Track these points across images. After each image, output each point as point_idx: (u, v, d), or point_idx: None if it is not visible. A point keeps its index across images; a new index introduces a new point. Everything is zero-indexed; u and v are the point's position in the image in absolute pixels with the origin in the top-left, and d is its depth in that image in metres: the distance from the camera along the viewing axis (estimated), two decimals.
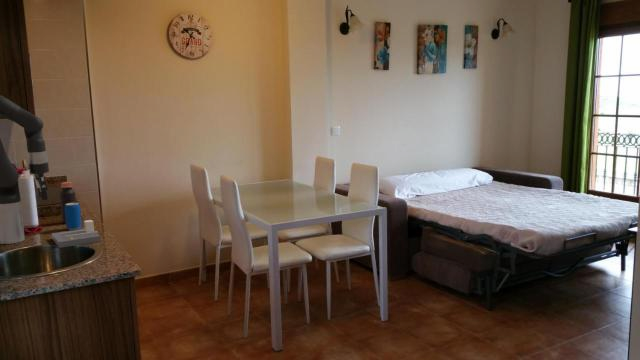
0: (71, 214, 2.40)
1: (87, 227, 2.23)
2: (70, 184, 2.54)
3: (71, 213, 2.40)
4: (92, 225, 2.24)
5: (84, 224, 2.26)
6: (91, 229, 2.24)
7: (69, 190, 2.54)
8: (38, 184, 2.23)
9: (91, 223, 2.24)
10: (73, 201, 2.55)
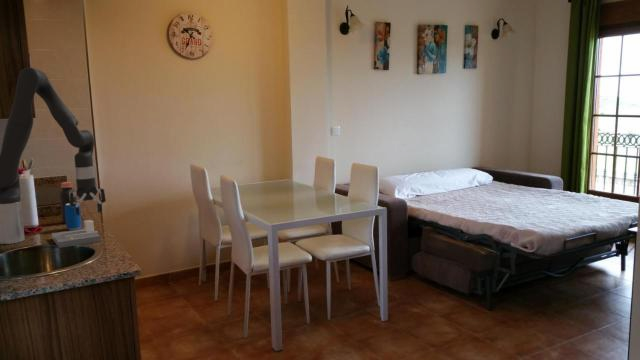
0: (71, 214, 2.40)
1: (87, 227, 2.23)
2: (70, 184, 2.54)
3: (71, 213, 2.40)
4: (92, 225, 2.24)
5: (84, 224, 2.26)
6: (91, 229, 2.24)
7: (69, 190, 2.54)
8: None
9: (91, 223, 2.24)
10: None
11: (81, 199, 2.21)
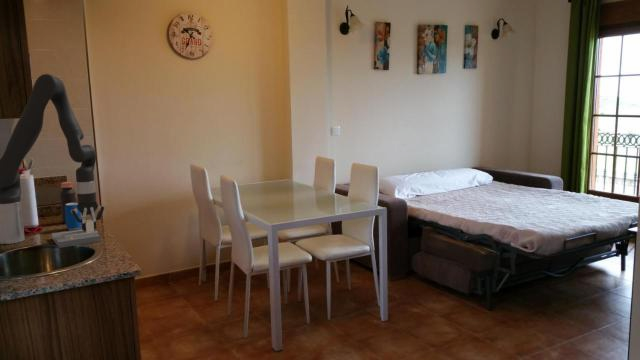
0: (71, 214, 2.40)
1: (87, 227, 2.23)
2: (70, 184, 2.54)
3: (71, 213, 2.40)
4: (92, 225, 2.24)
5: None
6: (91, 229, 2.24)
7: (69, 190, 2.54)
8: (94, 214, 2.25)
9: (91, 223, 2.24)
10: (73, 201, 2.55)
11: (84, 214, 2.22)
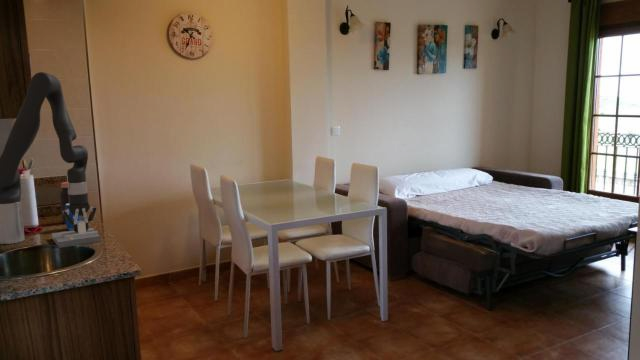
0: (71, 214, 2.40)
1: (79, 228, 2.21)
2: None
3: (71, 213, 2.40)
4: (84, 226, 2.23)
5: None
6: (83, 230, 2.23)
7: None
8: (86, 215, 2.23)
9: (83, 224, 2.22)
10: None
11: (76, 215, 2.20)
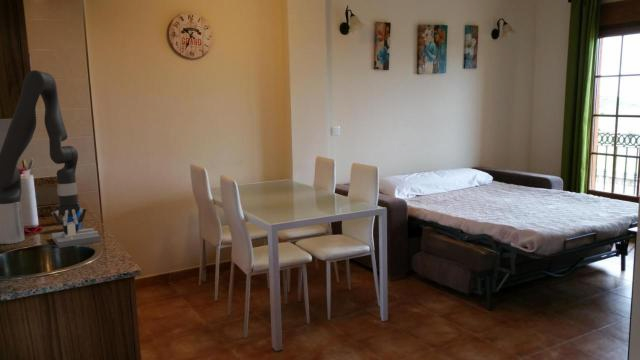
0: None
1: (68, 230, 2.19)
2: None
3: None
4: (74, 228, 2.20)
5: None
6: (73, 232, 2.20)
7: None
8: (76, 216, 2.21)
9: (73, 226, 2.20)
10: None
11: (66, 217, 2.18)
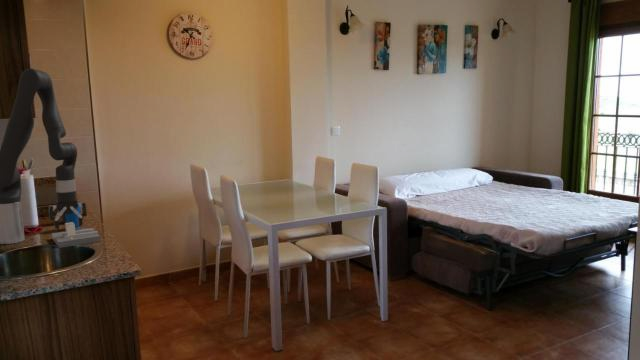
0: (71, 214, 2.40)
1: (68, 230, 2.19)
2: None
3: None
4: (73, 228, 2.20)
5: None
6: (73, 232, 2.20)
7: None
8: (77, 211, 2.20)
9: (72, 226, 2.20)
10: None
11: (61, 213, 2.17)
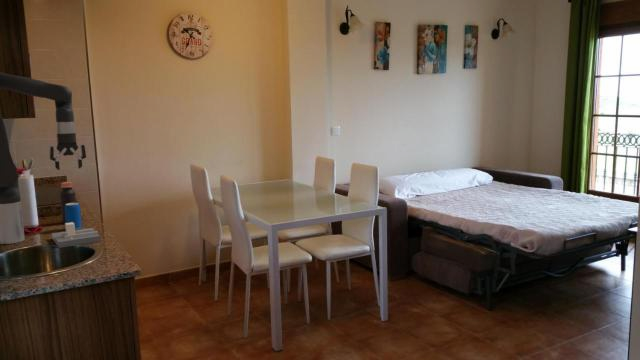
0: (71, 214, 2.40)
1: (68, 230, 2.19)
2: (70, 184, 2.54)
3: (71, 213, 2.40)
4: (73, 228, 2.20)
5: None
6: (73, 232, 2.20)
7: (69, 190, 2.54)
8: (77, 153, 2.29)
9: (72, 226, 2.20)
10: (73, 201, 2.55)
11: (61, 153, 2.25)
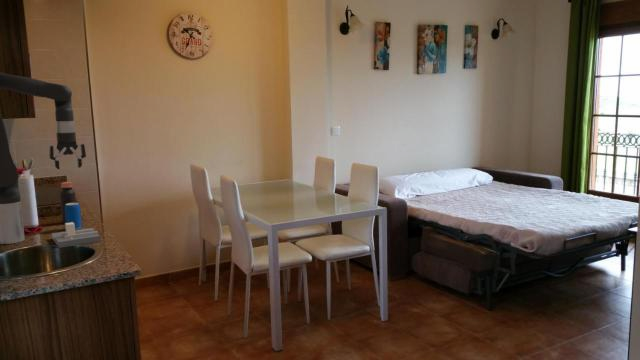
0: (71, 214, 2.40)
1: (68, 230, 2.19)
2: (70, 184, 2.54)
3: (71, 213, 2.40)
4: (73, 228, 2.20)
5: None
6: (73, 232, 2.20)
7: (69, 190, 2.54)
8: None
9: (72, 226, 2.20)
10: (73, 201, 2.55)
11: (61, 153, 2.25)
